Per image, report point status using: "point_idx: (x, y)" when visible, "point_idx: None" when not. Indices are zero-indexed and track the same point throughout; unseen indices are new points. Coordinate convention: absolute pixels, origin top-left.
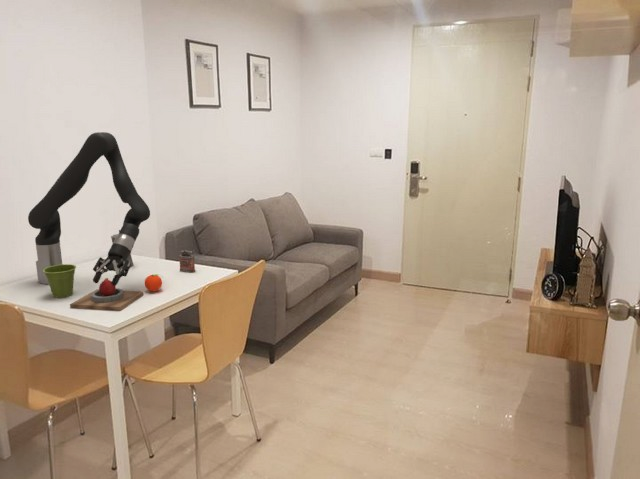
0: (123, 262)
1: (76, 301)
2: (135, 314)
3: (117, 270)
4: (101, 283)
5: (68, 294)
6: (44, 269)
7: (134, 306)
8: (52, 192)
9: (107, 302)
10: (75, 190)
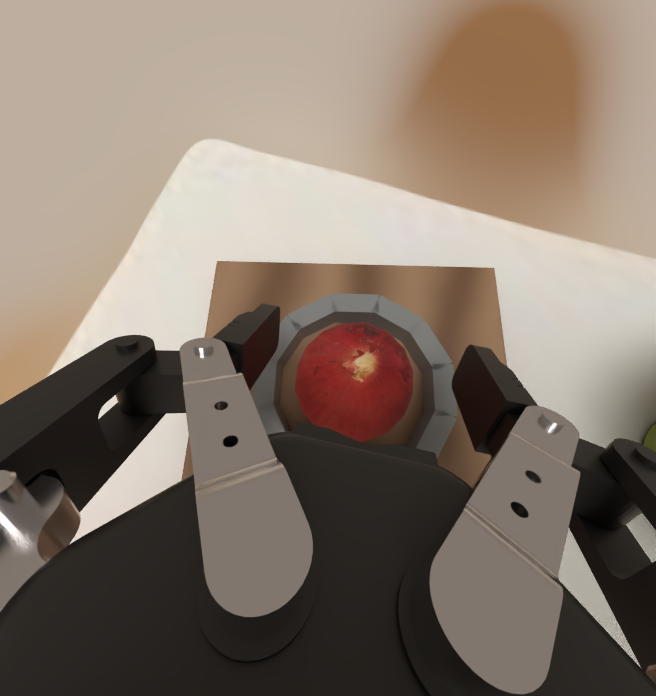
0: (13, 586)
1: (490, 309)
2: (141, 245)
3: (200, 374)
4: (389, 341)
5: (652, 447)
6: None
7: (178, 336)
8: None
9: None
10: None
